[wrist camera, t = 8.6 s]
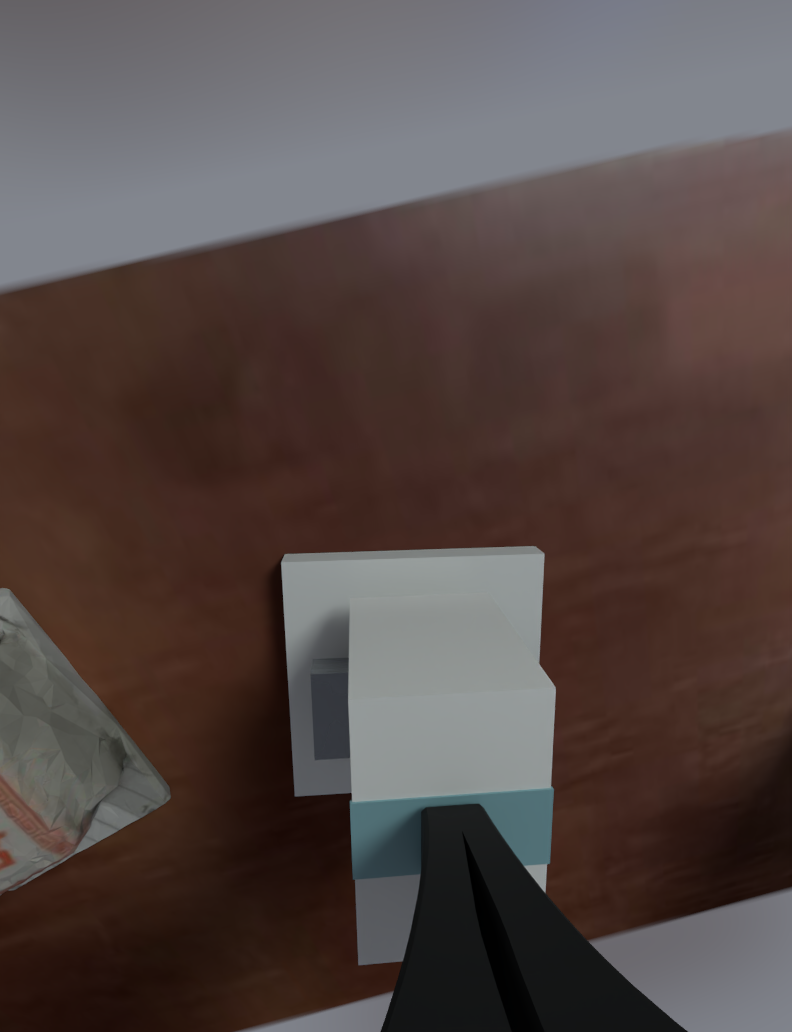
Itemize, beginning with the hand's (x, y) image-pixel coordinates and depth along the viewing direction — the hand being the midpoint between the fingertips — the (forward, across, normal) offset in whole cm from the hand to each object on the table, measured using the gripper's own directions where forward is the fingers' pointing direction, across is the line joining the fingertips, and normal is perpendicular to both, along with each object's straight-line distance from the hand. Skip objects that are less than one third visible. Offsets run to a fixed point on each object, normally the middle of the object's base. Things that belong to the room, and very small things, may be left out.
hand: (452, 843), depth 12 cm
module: (+6, 0, 0) cm, 6 cm away
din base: (+8, 0, 0) cm, 8 cm away
